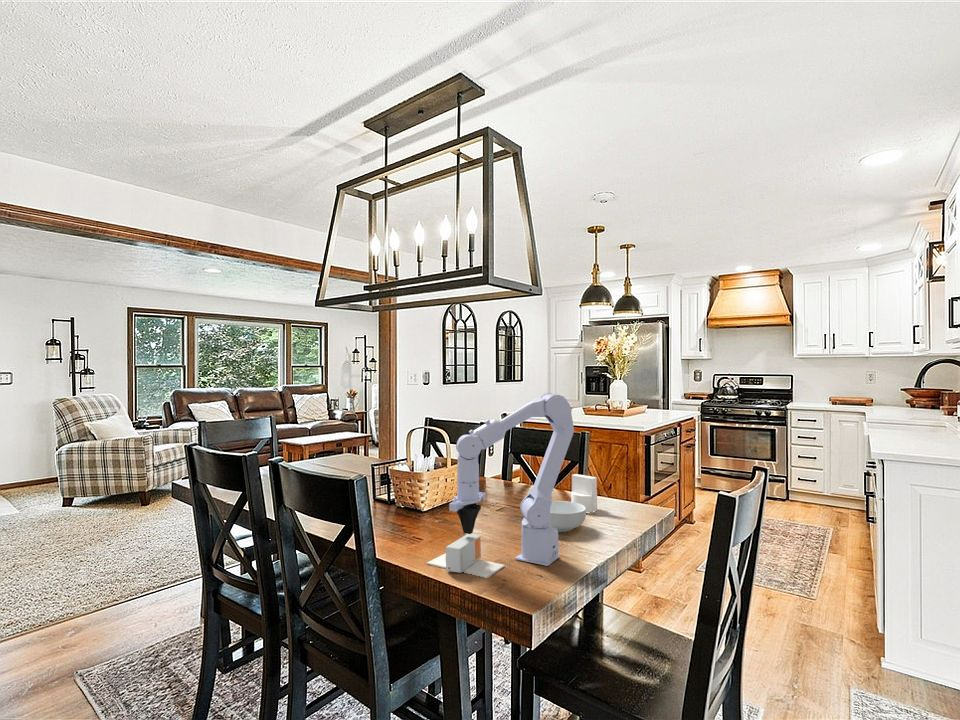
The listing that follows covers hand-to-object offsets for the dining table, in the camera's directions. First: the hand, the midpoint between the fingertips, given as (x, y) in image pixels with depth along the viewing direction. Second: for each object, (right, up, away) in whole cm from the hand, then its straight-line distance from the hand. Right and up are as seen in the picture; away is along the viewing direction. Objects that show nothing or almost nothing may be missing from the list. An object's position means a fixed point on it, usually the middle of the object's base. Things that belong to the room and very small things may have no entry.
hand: (468, 532), depth 143 cm
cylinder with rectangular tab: (+40, -8, +51) cm, 65 cm away
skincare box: (+2, -4, +2) cm, 5 cm away
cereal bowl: (+28, -8, +29) cm, 41 cm away
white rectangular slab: (-1, -7, -3) cm, 8 cm away
